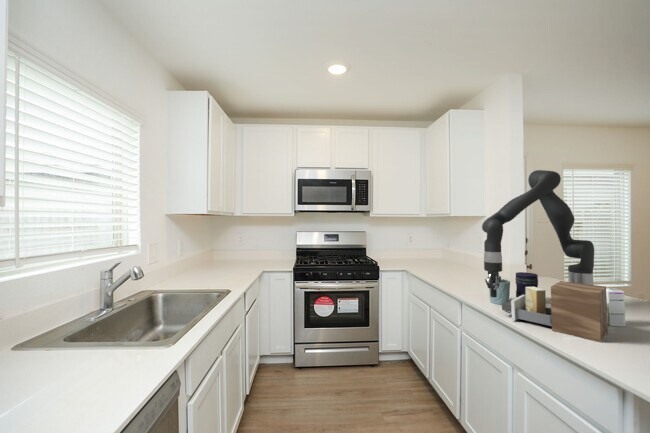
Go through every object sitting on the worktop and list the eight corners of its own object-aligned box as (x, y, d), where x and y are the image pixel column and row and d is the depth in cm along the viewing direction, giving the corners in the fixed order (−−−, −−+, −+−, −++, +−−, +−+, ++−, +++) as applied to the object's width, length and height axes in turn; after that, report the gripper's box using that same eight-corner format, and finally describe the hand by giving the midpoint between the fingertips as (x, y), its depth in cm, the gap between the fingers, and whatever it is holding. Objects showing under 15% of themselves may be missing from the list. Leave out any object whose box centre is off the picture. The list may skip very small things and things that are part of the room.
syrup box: (626, 326, 115) (625, 291, 115) (609, 326, 116) (608, 290, 116) (615, 321, 120) (614, 287, 121) (598, 321, 122) (597, 287, 122)
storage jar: (514, 302, 150) (513, 274, 150) (517, 298, 157) (516, 271, 157) (537, 306, 143) (536, 276, 143) (540, 301, 150) (539, 273, 151)
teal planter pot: (510, 301, 151) (510, 279, 152) (511, 307, 143) (510, 283, 143) (488, 299, 157) (488, 277, 157) (488, 304, 148) (487, 281, 148)
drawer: (511, 310, 137) (511, 292, 137) (561, 320, 122) (561, 300, 122) (499, 317, 127) (498, 298, 127) (551, 329, 112) (551, 308, 113)
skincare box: (525, 314, 126) (524, 286, 126) (534, 313, 126) (533, 286, 126) (537, 319, 119) (536, 290, 120) (546, 318, 120) (545, 289, 120)
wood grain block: (561, 321, 122) (560, 281, 122) (607, 331, 111) (606, 286, 111) (552, 330, 112) (550, 286, 113) (600, 342, 101) (599, 293, 102)
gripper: (495, 263, 129) (496, 301, 129) (506, 260, 137) (507, 296, 137) (478, 261, 135) (479, 297, 134) (490, 258, 143) (490, 293, 143)
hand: (493, 297), depth 136 cm, fingers closed
